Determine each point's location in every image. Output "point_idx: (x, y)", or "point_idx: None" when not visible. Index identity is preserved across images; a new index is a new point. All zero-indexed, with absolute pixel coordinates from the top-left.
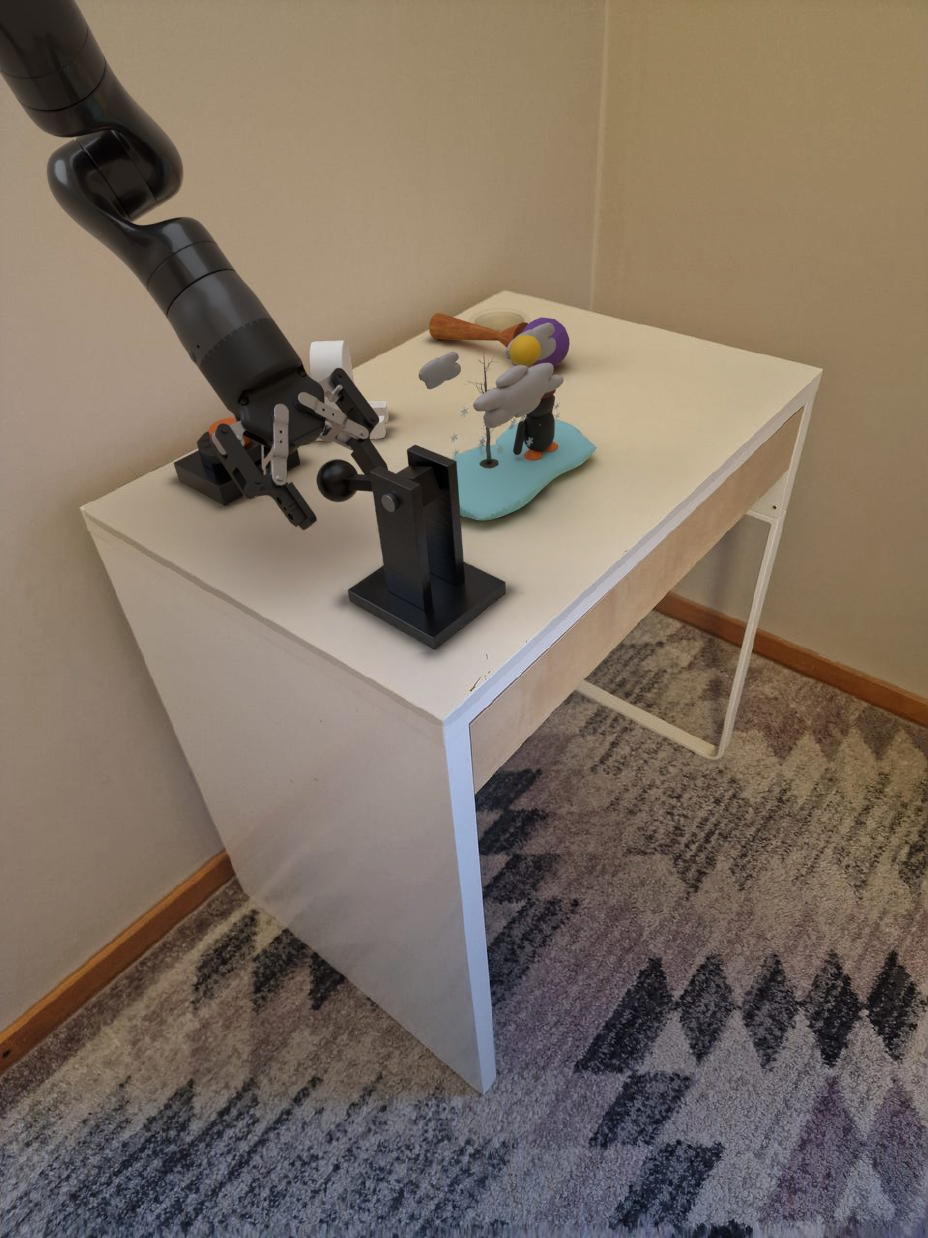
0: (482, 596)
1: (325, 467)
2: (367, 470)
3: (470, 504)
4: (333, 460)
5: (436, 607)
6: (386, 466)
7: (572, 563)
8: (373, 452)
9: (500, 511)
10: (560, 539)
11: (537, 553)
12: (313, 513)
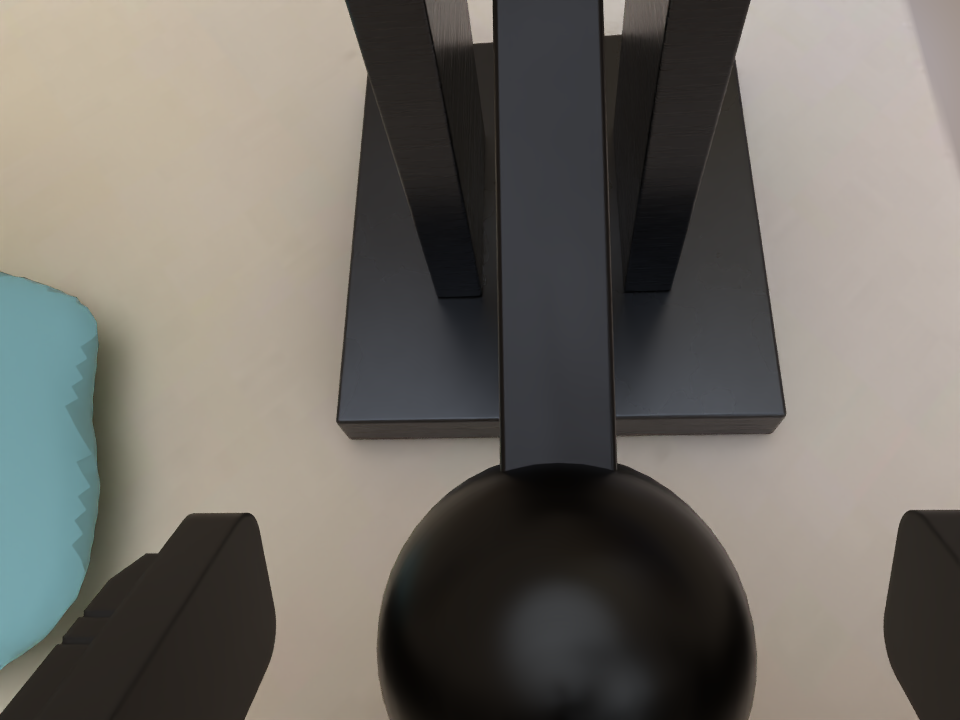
0: (474, 51)
1: (669, 665)
2: (224, 686)
3: (38, 374)
4: (537, 676)
5: (614, 112)
6: (132, 568)
7: (152, 40)
8: (96, 641)
9: (23, 279)
10: (54, 128)
11: (155, 133)
12: (936, 519)
